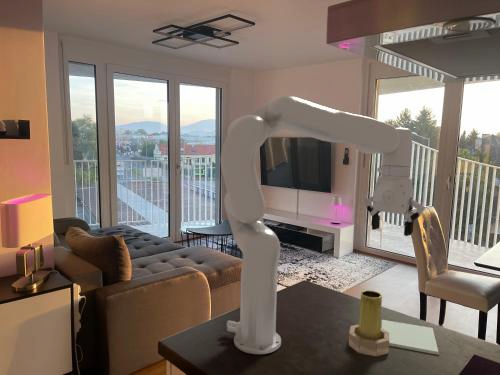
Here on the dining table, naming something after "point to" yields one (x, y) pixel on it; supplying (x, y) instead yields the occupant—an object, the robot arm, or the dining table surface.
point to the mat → (411, 336)
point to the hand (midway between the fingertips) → (391, 232)
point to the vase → (370, 315)
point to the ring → (369, 343)
